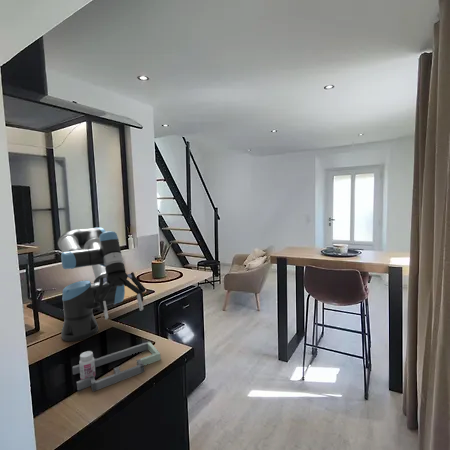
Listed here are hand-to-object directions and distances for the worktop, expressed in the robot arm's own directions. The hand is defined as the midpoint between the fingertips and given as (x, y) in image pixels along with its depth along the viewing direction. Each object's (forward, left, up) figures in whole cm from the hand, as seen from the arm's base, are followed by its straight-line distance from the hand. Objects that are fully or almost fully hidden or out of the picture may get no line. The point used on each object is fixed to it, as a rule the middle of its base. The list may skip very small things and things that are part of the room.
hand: (124, 314), depth 112 cm
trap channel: (+10, -6, -16) cm, 19 cm away
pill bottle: (+8, -16, -16) cm, 24 cm away
